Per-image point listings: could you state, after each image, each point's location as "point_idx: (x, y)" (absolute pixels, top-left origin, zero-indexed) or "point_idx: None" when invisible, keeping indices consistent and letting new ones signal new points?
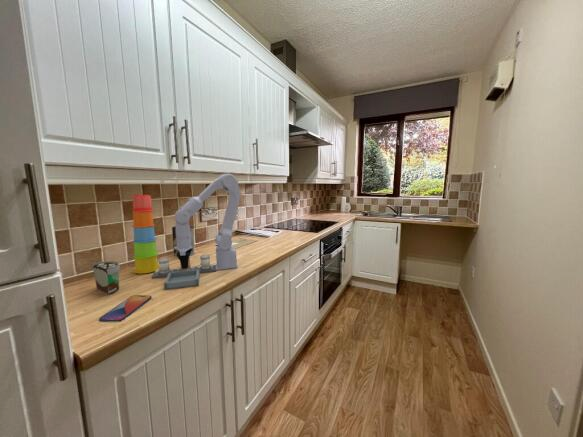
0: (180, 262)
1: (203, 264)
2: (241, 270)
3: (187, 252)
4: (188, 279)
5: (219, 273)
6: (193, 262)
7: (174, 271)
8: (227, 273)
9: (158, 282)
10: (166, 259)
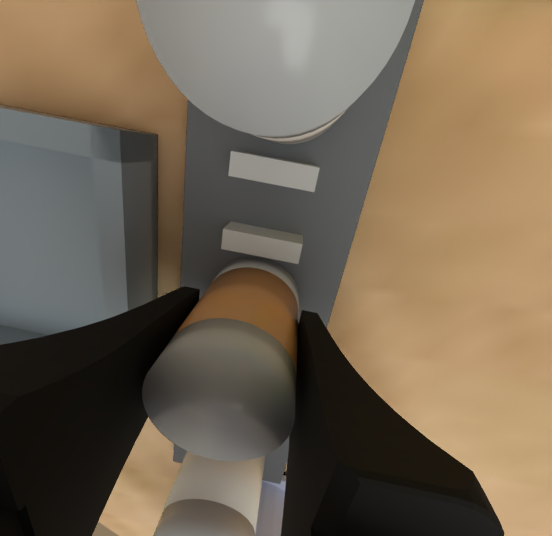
0: (121, 314)
1: (186, 454)
2: (150, 530)
3: (290, 529)
4: (45, 286)
5: (139, 452)
6: (504, 383)
7: (276, 197)
8: (126, 479)
9: (59, 8)
10: (235, 70)
